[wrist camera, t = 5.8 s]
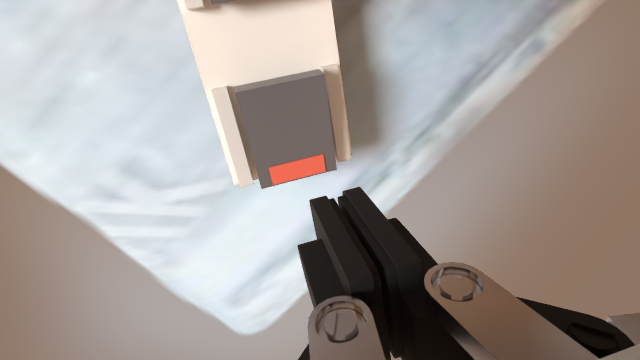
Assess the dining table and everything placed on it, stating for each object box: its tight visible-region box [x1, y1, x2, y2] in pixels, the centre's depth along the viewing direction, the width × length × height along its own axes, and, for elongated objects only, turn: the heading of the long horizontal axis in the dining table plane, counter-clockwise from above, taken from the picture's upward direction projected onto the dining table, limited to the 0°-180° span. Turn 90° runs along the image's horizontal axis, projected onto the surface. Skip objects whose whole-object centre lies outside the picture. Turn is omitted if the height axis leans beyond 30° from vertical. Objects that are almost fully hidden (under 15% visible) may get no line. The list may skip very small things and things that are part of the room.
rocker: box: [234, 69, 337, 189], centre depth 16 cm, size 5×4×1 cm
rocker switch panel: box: [177, 0, 352, 187], centre depth 17 cm, size 14×7×4 cm, turn 10°
